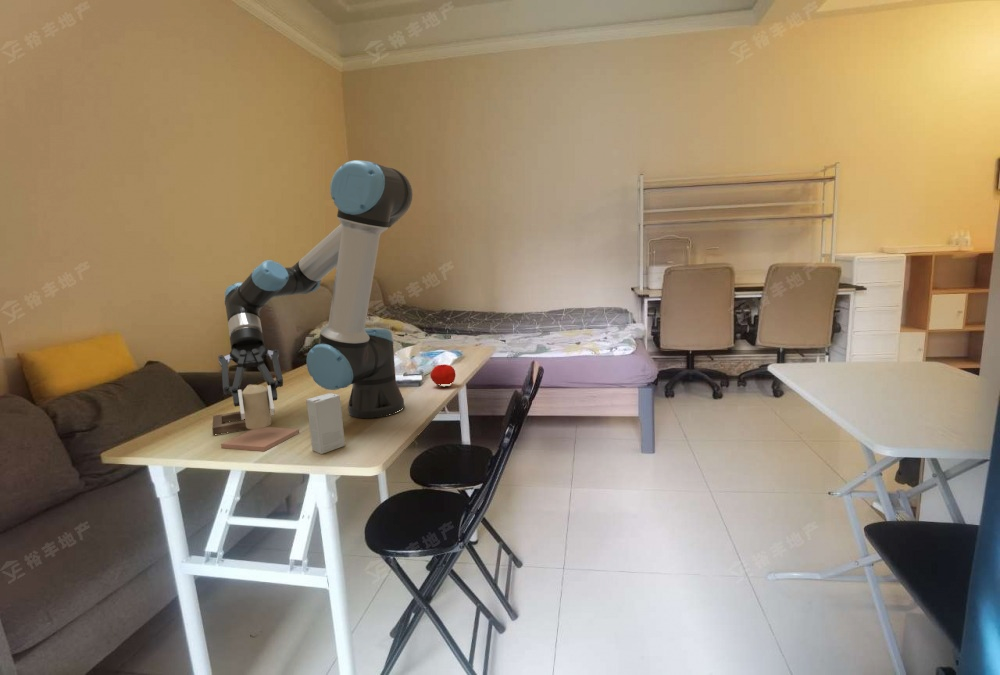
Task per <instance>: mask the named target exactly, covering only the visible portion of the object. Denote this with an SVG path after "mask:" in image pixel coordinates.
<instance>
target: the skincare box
mask: <svg viewBox="0 0 1000 675" xmlns="http://www.w3.org/2000/svg"><path fill="white" fill-rule="evenodd" d="M341 403H342V402H341V396H340V394H336V393H332V392H328V393H325V394H322V395H318V396H314V397H311V398H306V409H307V416H308V424H309V433H310V434H309V435H310V441H311V449H312V451H313V452H316V453H318V454H321V455H323V454H326V453H329V452H331V451H335V450H337V449H339V448H342V447H345V446H346V440H345V439H346V438H345V431H344V421H343V413H342V411H343V410H342V404H341Z"/></svg>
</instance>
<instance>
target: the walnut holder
mask: <svg viewBox="0 0 1000 675" xmlns="http://www.w3.org/2000/svg"><path fill="white" fill-rule="evenodd" d="M236 420H240V421H236ZM229 421H234V422H229ZM223 422H228V423H223ZM245 429H248V428H246V423H245V420H241V412H240V411H235V412H229V413H223V414H216V415H215V414H214V415H212V434H213V435H215V434H221V433H226V434H228V433H227V432H232V433H235V432H234V431H237V432H240V431H239V430H243V431H246V430H245ZM248 430H249V429H248ZM221 435H222V434H221ZM215 436H216V435H215Z"/></svg>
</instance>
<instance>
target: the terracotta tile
mask: <svg viewBox="0 0 1000 675" xmlns="http://www.w3.org/2000/svg"><path fill="white" fill-rule="evenodd" d="M298 434H300V428H288V427H274V426H272V427H271V426H267V427H264V428H259V429H249V430H248V431H245V432H244V433H241V434H240V435H237V436H235V437H233V438H230V439H228V440H226V441H224V442H222V443H220V446H221V449H229V450H230V449H231V450H241V451H243V450H245V451H255V452H256V451H257V452H266V451H267V450H270V449H272V448H274V447H275V446H277V445H279V444H282V442H285V441H286V440H289V439H292V437H294V436H297V435H298Z"/></svg>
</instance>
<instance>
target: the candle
mask: <svg viewBox="0 0 1000 675" xmlns="http://www.w3.org/2000/svg"><path fill="white" fill-rule="evenodd" d="M242 398H243V406H244V413H245V423H246V428H248V430H252V429H259V428H264V427H270V426H271V425H272V416H271V411H270V405H269V398H268V389H267V386H264V385H262V384H247V385H246V387H245V388H244V389H242Z"/></svg>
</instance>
